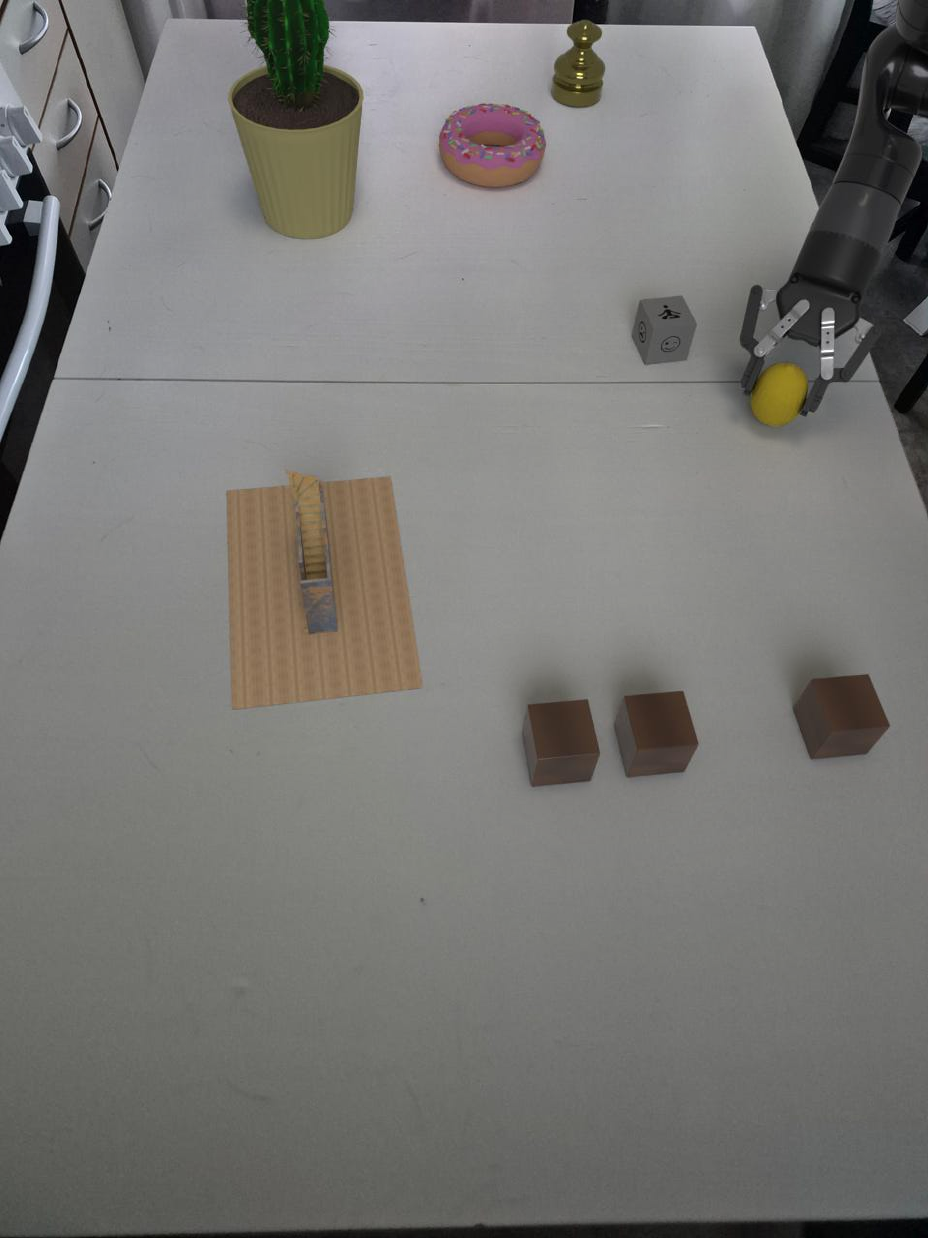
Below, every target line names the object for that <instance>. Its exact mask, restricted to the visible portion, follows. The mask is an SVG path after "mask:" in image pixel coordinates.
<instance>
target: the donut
mask: <svg viewBox="0 0 928 1238" xmlns="http://www.w3.org/2000/svg"><path fill="white" fill-rule="evenodd" d="M544 133H545V129H544V128H542V127H541V121H540V120H538V119H537V117H535V116H532V114H531V113H529V112H528V110H523V109H520V108H519V107H518V106H517V107H516V106H511V105H509V104H500V103H492V102H491V103H486V102H485V103H479V104H476V105H474V104H472V105H467V106H465V107H462V108H460V109H458V110H453V112H452V113H451V114H450V115H449V116H448V117H446V118H445V121H444V124H443V126H442V128H441V130H440V132H439V135H438V150H439V153H440V156H441V158H442V161H443V163H444V164H445V166H446V168H447V170H449V171H450V172H451V173H452V174H453V175H454V176H456V177H457V178H458V179H460V180H462V181H465V182H467V183H469V184H473V185H476V186H478V187H479V186H481V187H487V188H502V187H509V186H514V185H517V184H521V183H523V182H525V181H526V180H528V179H530V178H531V177H532V176H533V175H534V174H535V173H536V172H537V170H538V169H539V167H540V166H541V164H542V161H543V159H544V156H545V153H546V147H547V142H546V137H545V134H544Z"/></svg>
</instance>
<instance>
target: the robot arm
mask: <svg viewBox="0 0 928 1238" xmlns="http://www.w3.org/2000/svg"><path fill="white" fill-rule="evenodd" d="M894 16H895V17H894V20H895V24H892V25H890V26H888V27H887V28H885V29H884V30H882V31H881V32H879V34H878V35H876V37H875V39H874V40H873V41H872V42H871V44H870V46H869V47H868V49H867V52H866V55H865V57H864V61H863V66H862V72H861V77H860V85H859V92H858V93H859V94H858V101H857V108H856V114H855V119H854V124H853V127H852V131H851V134H850V138H849V141H848V144H847V146H846V149H845V152H844V155H843V157H842V160H841V162H840V164H839V167H838V169H837V171H836V173H835V176H834V178H833V181H832V183H831V184H830V185H831V186H830V187H829V189H828V191H827V193H826V194H825V196H824V198H823V200H822V202H821V203H820V205H819V207H818V208H817V212H816V213H815V216H814V218H813V221H812V222H811V225H810V227H809V230H808V233H807V234H806V237H805V239H804V242H803V244H802V246H801V249H800V250H799V254H798V255H797V258H796V261H795V262H794V265H793V268H792V270H791V272H790V274H789V277H788V279H787V281H786V282H785V283H784V284H783V285H782V286H781V287H780V288H779V289H778V290H775V289H767V288H763V287H762V286H761V285H759V284H754V285H753V286H751V288H750V290H749V295H748V300H747V304H746V308H745V313H744V318H743V322H742V327H741V331H740V334H739V335H740V336H739V344H740V346H741V348H742V349H745V350H746V351H747V352H748V353H749V354H750V358H749V361H748V363H747V365H746V367H745V370H744V372H743V375H742V377H741V380H740V387H741V388H743V392H742V393H743V395H744V396H748V397H751V394H752V390H753V388H754V385H755V383H756V381H757V379H758V378H759V376H760V375H761V372H762V369H763V367H764V365H765V358H766V357H767V356H768V354H770V353H771V352H772V351H773V350H774V349H775V348H776V347H777V346H778V345H779V344H780V343H781V342H782V341H783V340H785V338H786V337H787V338H788V339H791V340H793V341H803V342H805V343H806V344H807V345H809V346H811V347H815V348H818V347H819V348H818V351H819V354H818V355H819V356H818V360H819V371H818V373H819V375H818V377H816V378H815V379H814V381H813V383H812V386H811V388H810V391H809V392H808V394H807V399H806V402H805V404H804V406H803V408H802V410H801V412H800V413H799V415H800V416H803V417H807V416H808V414H809V412H810V413H815V412H816V411H817V410H818V409H819V406H820V405H821V402H822V400H823V398H824V395H825V394H826V391H827V389H828V387H829V385H830V384H832V383H843V384H844V383H849V382H850V381H851V380H852V378H853V377H854V375H855V374H856V372H857V371H858V369H859V368H860V367H861V365H862V363H863V362H864V360H865V359H866V358H867V357H868V355H869V353H870V352H871V350H872V349H873V347H874V346H875V344H876V343H877V342H878V340H879V338H880V337H881V336H882V334H883V332H884V329H883V326H882V325H881V324H873V323H871V322H869V321H867V320H865V319H863V318H861V311H860V309H861V304H862V302H863V299H864V297H865V296H866V295H865V294H866V292H867V290H868V288H869V285H870V283H871V281H872V279H873V277H874V275H875V272H876V270H877V268H878V265H879V263H880V260H881V259H882V257H883V254H884V253H885V251H886V250H887V248H888V247H887V246H888V242H889V240H890V239H891V236H892V235H893V230H894V229H895V225H896V221H897V218H898V215H899V212H900V210H901V206H902V205H903V203H904V201H905V198H906V195H907V194H908V191H909V189H910V187H911V185H912V183H913V180H914V178H915V176H916V173H917V171H918V169H919V167H920V164H921V161H922V158H923V149H922V145H921V144H920V143H919V141H918V140H916V138H914V137H913V136H911V135H910V134H909V133H906V132H905V131H903V130H901V129H899V128H898V127H896V126H895V125H893V124H892V123H890V121H888V120H887V118H886V115H885V113H884V110H886V109H887V110H892V111H894V112H895V111H896V112H900V113H904V114H907V115H908V114H909V115H912V116H917V117H919V118H924V119H928V0H897V4H896V8H895V15H894ZM773 302H774V303H775V304H776V308H777V313H778V317H779V321H778V323H777V324H775V326H773V328H772V329H770V331H768V333H767V334H766V335H765V336H764V337H763V338H762V340H760V341H758V340H757V339H756V338H755V337H754V336H755V331H756V327H757V323H758V319H759V315H760V312H765V311H766V310H768V308H769V306H770V305H771V303H773ZM851 329H855V330H856V335H855V337H854V341H855V343H856V344H857V345H858V346H857V347H856V348H855V350H854V352H853V354H851V356H850V357H849V359H848V361H847V362H846V364H845V365H844V366H843V367H835V366H834V365H835V364H834V363H835V362H834V361H835V359H834V358H835V356H834V355H835V340H836V339H838V338H839V337H840V336H843V335H844V334H845V333H847V332H849V331H850V330H851Z"/></svg>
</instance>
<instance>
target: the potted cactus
mask: <svg viewBox="0 0 928 1238" xmlns="http://www.w3.org/2000/svg"><path fill="white" fill-rule="evenodd" d="M243 1H244V2H246V4H245V5H244V4H241V3H238V6H242V7H243V8H244V12H243V13H241V14H240V15H239V16H244V15H245V14H246V16H244V21H246V22H244V23H243V22H242V21H241V22H240V24H242V25H241V27H244V28H247V29H245V30H243V31H240V32H239V34H240V33H244V32H249V35H250V36H248V37H247V38H248V40H247V41H246V43H245V45H244V47H246V45H247V46H248V45H249V44H250V45H255V48H254V50H253V51H252V53H254V52H255V51H256V54H255V55H258V52H259V51H261V52H262V54H263V55H260V56H258V57H256V59H259V61H262V62H261V64H260V65H262V64H263V63H265V65H264V66H260V67H257V68H256V69H253V70H251V71H249V72H247V73H245V74H243V75H242V76H241V77H240V78H238V79H236V81H235V82H234V83H233V84H232V86H231V87H230V89H229V92H228V100H227V101H228V104H229V106H230V111H231V115H232V118H233V121H234V124H235V127H236V131H237V134H238V137H239V141H240V143H241V147H242V151H243V153H244V156H245V161H246V163H247V166H248V170H249V174H250V177H251V180H252V183H253V186H254V189H255V193H256V196H257V198H258V202H259V206H260V209H261V212H262V215H263V218H264V220H265V222H266V224H267V225H268V226H269V228H271V230H273V231H275V232H277V233H278V234H280V235H283V236H286V237H289V238H294V239H300V240H301V239H303V240H309V239H312V240H313V239H319V238H325V237H327V236H331V235H334V234H335V233H338V232H340V231H341V230H342V229H344V228H345V227H346V226H347V225H348V223H349V222H350V221H351V218H352V216H353V215H352V214H353V211H354V200H355V192H356V191H355V189H356V179H357V168H358V159H359V158H358V157H359V147H360V146H359V145H360V137H361V123H362V115H363V102H364V99H365V98H364V97H365V96H364V90H363V88H362V86H361V84H360V83H359V82H358V81H357V80H356V79H355V78H354V77H353V76H352V75H350V74H349V73H348V72H345V71H343V70H341V69H339V68H336V67H333V66H331V65H326V64H324V62H326V60H330V59H331V57H325V56H326V54H325V51H326V52H327V53H329V55H331V56H333V54H332V53H331V52H329V50H330V47H328V46H327V44H329V43H328V42H331V41H330V40H329V39H330V34H331V35H332V36H334V37H336V38H337V36H336V35H335V34H334V33H333V32H332V31H334V32H337V30H335V29H333V28H334V26H332V25H331V23H330V20H331V19H333V17H335V15H336V14H334V15H333V16H332V14H333V12H334V10H335V9H334V8H335V7H334V8H329V9H326V8H325V0H243ZM332 9H334V10H333V11H332ZM330 10H331V11H330ZM328 11H330V12H329V13H327V12H328ZM330 14H331V15H330ZM239 16H238V17H239ZM330 27H332V28H330ZM337 33H338V32H337ZM331 39H333V40H334V38H333V37H331ZM251 40H255V42H251ZM250 42H251V43H250ZM244 47H243V48H244ZM256 49H257V50H256ZM262 58H263V60H262Z"/></svg>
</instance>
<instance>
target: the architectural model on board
mask: <svg viewBox="0 0 928 1238" xmlns="http://www.w3.org/2000/svg"><path fill="white" fill-rule="evenodd" d="M284 472H285V474H288V485H279V486H267V487H256V488H244V489H234V490H226V523H227V524H226V525H227V566H228V605H229V606H228V607H229V638H230V639H229V651H230V689H231V691H230V693H231V710H241V709H251V708H257V707H259V708H260V707H266V706H276V705H277V706H278V705H283V704H293V703H301V702H302V703H303V702H310V701H319V700H327V699H328V700H329V699H338V698H346V697H355V696H361V695H362V696H363V695H372V694H380V693H388V692H397V691H406V690H407V691H408V690H415V689H423V688H424V686H423V680H422V673H421V666H420V659H419V653H418V647H417V646H418V645H417V641H416V634H415V633H416V632H415V627H414V620H413V613H412V607H411V601H410V595H409V588H408V587H409V586H408V581H407V575H406V567H405V561H404V556H403V549H402V542H401V535H400V530H399V522H398V516H397V509H396V502H395V495H394V488H393V483H392V477H391V476H382V477H381V476H380V477H371V478H370V477H369V478H359V479H348V480H347V479H346V480H335V481H323V480H319V477H318V476H315V475H309V474H303V473H299V472H295V471H291V470H288V469H287V470H284Z"/></svg>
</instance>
